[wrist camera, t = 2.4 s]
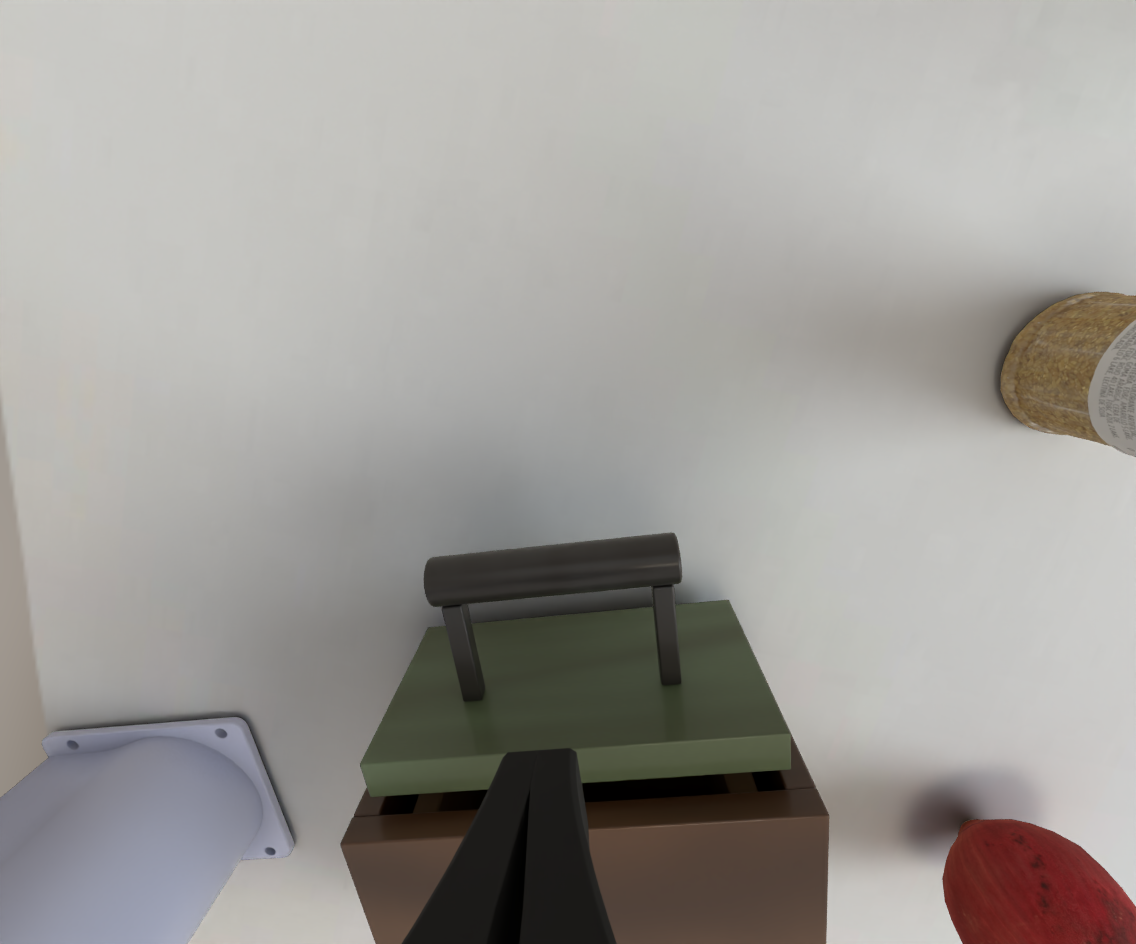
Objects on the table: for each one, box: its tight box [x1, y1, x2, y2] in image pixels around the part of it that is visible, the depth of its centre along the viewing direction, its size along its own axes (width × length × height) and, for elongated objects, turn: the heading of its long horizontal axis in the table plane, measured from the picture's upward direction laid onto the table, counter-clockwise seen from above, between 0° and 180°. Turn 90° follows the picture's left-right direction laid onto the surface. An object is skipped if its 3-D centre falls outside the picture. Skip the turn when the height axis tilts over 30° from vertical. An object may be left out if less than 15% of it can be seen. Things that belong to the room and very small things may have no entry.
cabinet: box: [340, 627, 829, 944], centre depth 19 cm, size 15×13×8 cm
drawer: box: [360, 533, 791, 813], centre depth 18 cm, size 18×11×6 cm, turn 8°
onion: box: [942, 819, 1136, 944], centre depth 19 cm, size 6×6×8 cm
